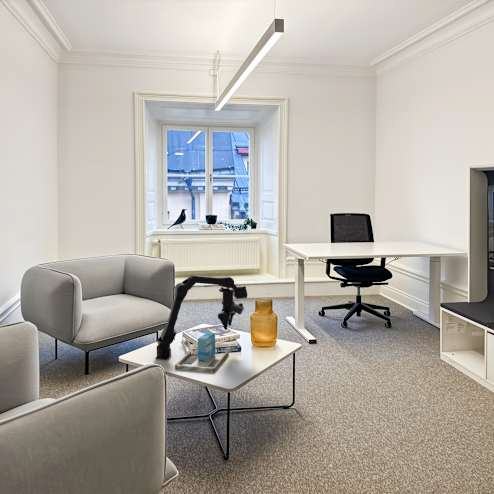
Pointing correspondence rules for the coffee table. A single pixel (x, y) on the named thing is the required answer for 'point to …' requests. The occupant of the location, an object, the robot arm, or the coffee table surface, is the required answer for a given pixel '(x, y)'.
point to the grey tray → (196, 368)
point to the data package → (206, 346)
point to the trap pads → (192, 359)
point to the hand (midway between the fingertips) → (227, 327)
